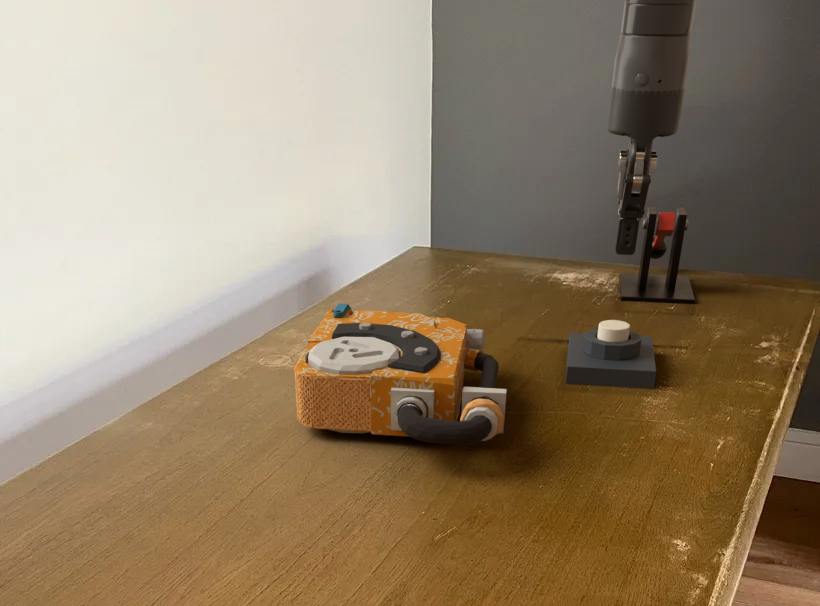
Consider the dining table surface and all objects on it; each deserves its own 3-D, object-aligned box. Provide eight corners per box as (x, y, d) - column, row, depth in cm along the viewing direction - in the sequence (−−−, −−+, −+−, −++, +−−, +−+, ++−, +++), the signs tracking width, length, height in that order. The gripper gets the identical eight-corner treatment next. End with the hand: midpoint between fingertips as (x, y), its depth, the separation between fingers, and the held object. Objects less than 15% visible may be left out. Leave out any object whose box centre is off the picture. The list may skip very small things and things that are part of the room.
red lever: (642, 261, 146) (644, 239, 146) (664, 262, 146) (666, 240, 146) (653, 232, 133) (656, 208, 132) (677, 233, 132) (679, 209, 132)
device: (517, 300, 111) (504, 398, 87) (511, 368, 116) (498, 480, 92) (326, 293, 115) (262, 385, 90) (329, 359, 119) (269, 465, 95)
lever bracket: (618, 283, 145) (629, 200, 138) (686, 285, 143) (700, 202, 137) (619, 307, 135) (631, 219, 129) (693, 310, 134) (708, 221, 127)
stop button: (597, 333, 115) (598, 318, 114) (627, 334, 115) (629, 320, 114) (597, 343, 112) (598, 328, 111) (628, 345, 112) (630, 330, 111)
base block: (567, 349, 121) (571, 318, 119) (649, 353, 120) (654, 322, 117) (565, 384, 112) (568, 351, 109) (653, 389, 110) (659, 355, 108)
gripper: (689, 91, 95) (660, 270, 104) (681, 77, 105) (655, 240, 115) (612, 90, 96) (590, 266, 106) (611, 76, 107) (592, 237, 116)
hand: (624, 252), depth 110 cm, fingers closed
